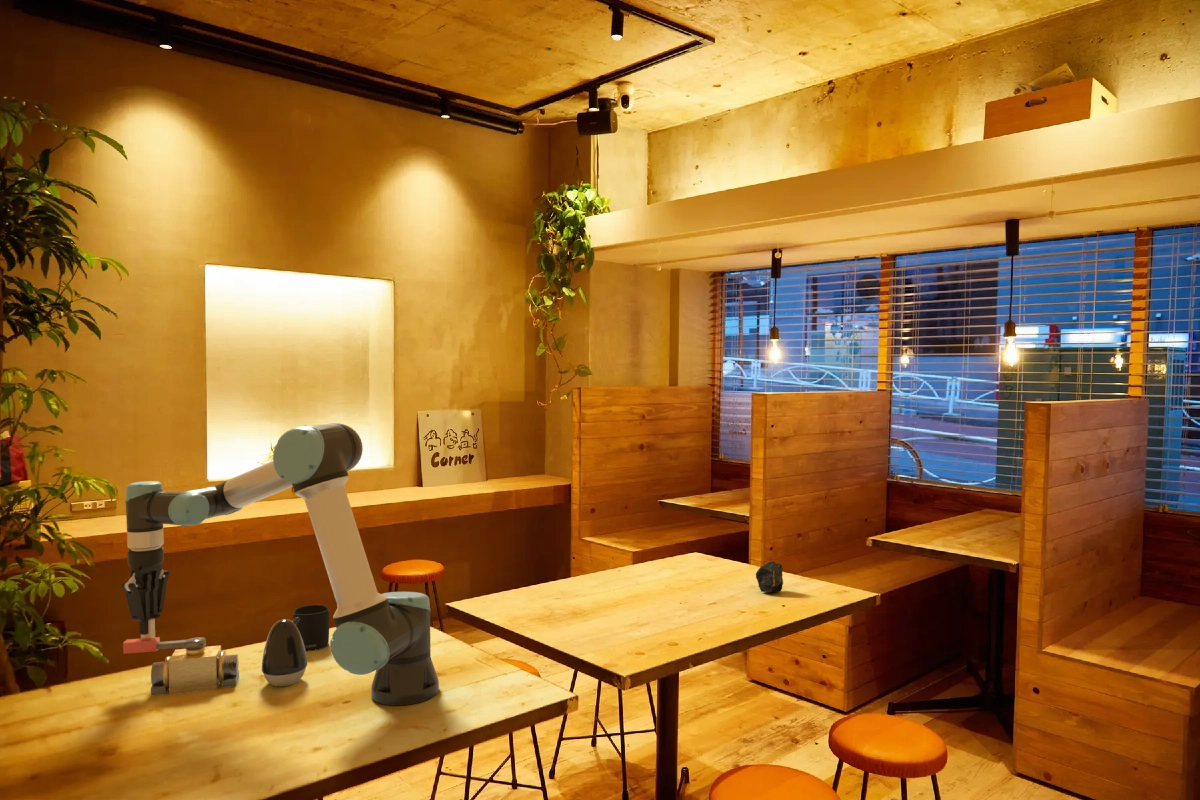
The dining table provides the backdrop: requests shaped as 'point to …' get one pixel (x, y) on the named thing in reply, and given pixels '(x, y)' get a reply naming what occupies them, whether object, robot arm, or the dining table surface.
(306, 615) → the pen holder
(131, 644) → the lever
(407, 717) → the dining table surface
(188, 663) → the valve
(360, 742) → the dining table surface
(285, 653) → the black egg-shaped shaker
